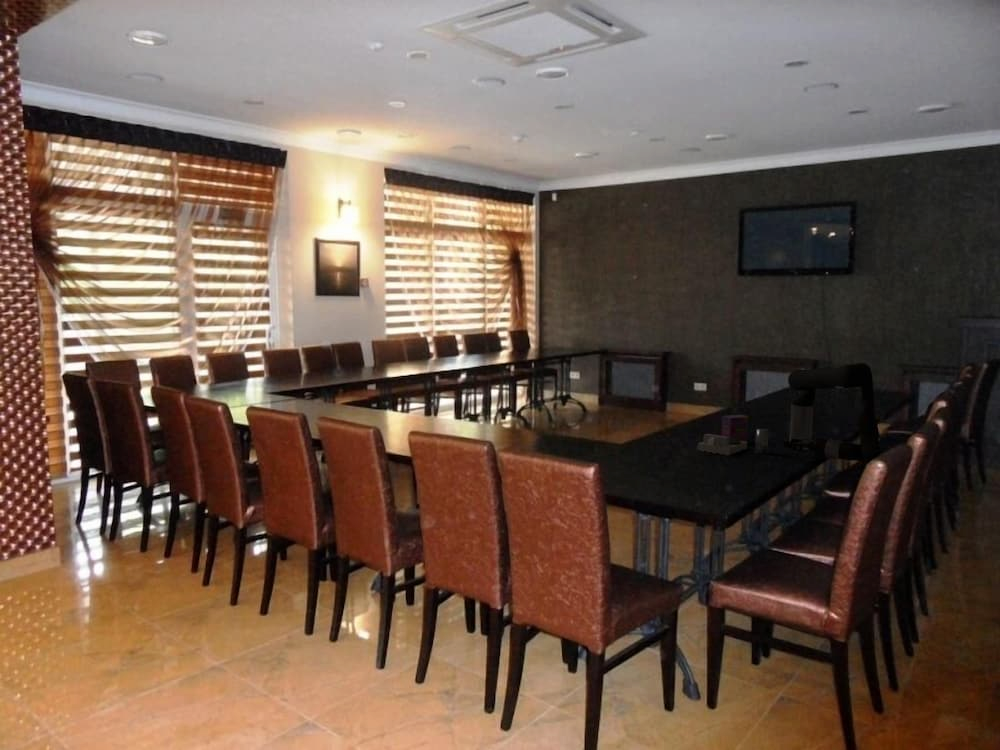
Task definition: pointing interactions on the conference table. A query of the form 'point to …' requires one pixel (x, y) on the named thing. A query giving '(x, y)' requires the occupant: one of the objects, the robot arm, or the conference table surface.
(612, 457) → the conference table surface
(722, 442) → the scale
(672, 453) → the conference table surface
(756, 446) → the spacer
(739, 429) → the box
